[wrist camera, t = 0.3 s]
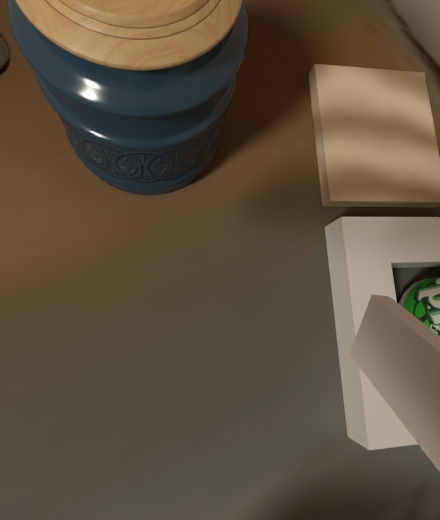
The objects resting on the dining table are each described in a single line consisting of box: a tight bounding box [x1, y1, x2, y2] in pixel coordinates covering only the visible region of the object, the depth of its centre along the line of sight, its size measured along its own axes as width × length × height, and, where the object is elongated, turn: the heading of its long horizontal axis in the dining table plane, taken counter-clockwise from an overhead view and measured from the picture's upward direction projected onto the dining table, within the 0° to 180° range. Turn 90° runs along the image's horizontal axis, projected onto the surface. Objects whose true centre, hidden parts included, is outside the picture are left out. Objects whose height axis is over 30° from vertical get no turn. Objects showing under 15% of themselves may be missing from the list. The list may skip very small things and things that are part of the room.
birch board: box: [308, 64, 440, 207], centre depth 32 cm, size 14×12×2 cm
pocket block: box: [325, 217, 440, 450], centre depth 29 cm, size 18×18×3 cm
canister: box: [8, 0, 249, 195], centre depth 21 cm, size 13×13×18 cm
